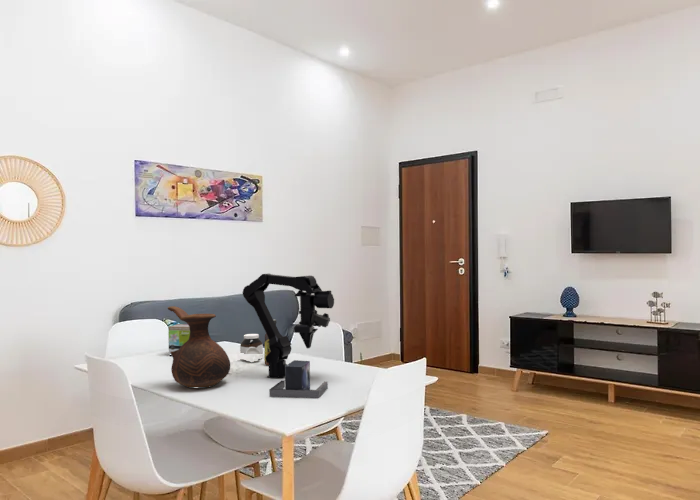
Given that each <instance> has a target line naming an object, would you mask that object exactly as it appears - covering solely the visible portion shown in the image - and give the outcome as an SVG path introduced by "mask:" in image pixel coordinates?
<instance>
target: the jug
mask: <svg viewBox="0 0 700 500" xmlns="http://www.w3.org/2000/svg"><path fill="white" fill-rule="evenodd" d="M167 310H168V311H169V312H173V313H174V314H175V315H176V317H178V319H179V320H180V321H182V322H184V323H185V324H188V325H189V328H190V336H189V339H188V341H187V342H185V343H184V344H183V345H182V346H181V347H180V349H178V350H176V351H173V352H172V351H171V352H170V353H171V354H172V356H171V357H172V363H171V368H170V369H171V376H172V377H173V380H174V382H175V383H178V384H180V385H183V386H185V387H186V386H187V387H186V388H188V387H207V388H210V387H209V386H212V387H214V386H216V385H218V384H219V383H220V382H221V381H222V380H224V379H225V378H226V377H227V376H228V375H229V373H230V370H231V361H230V358H229V356H228V354H227V352H226V351H225V349H224V348H223V347H222V346H221V345H220V344H218V342H216V341H215V340H213V339H212V338H211V336H210V331H209V325H210V321H211V320H212V319H214V318H216V314H214V313H194V314H192V313H191V314H188V313H187V312H186V311H185V310H184V309H182V308H180V307H178V306H175V305H174V306H168V307H167ZM213 385H214V386H213Z"/></svg>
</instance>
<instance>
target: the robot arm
mask: <svg viewBox="0 0 700 500" xmlns="http://www.w3.org/2000/svg"><path fill="white" fill-rule="evenodd" d="M270 285H277V286H283V287H291V288H294V289H295V290H298V291H297V292H296V293H294V296H295V297H299V302H300V304H299V305H300V308H299V309H300V310H299V311H298V314H299V315H300V321H299V323H298V324H296V325H295V326H294V327H293V333H295V334H296V333H297V334H299V335H300V336H299V337H301V339H302V342H303V343H304V345H305V347H306V349H310V348H311V347H312V343H313V340H314V339H313V338H314V335H315V333H316V332H317V331H318V330H319V329H318V328H320V327H323V328H327V327H329V324H330V322H331V317H330V316H329V313H326V312H325V313H323V314H319V313H318V310H317V309H333V307H334V304H335V298H334V295H333V294H332V290H322V288H321V286H320V285H319V284H318V283H317V279H316V278H315V276H314V275H301V276H290V275H281V274H273V273H272V274H271V273H261V274H260V276H259V277H257V278H256V279H255V280H253V281H252V282H251V283H249V285H248V284H247V285H246V286H244V288H243V289H242V296H243V298H244V300H245V301H246V302H247V303H248V304H249V305H250V306H251V307H253V310H254V311H255V313H256V315H257V317H258V319H259V321H260V323H261V325H262V327H263V330H264V331H265V334H267V336H268V338H269V348H270V351H271V352H270V353H269V354H268V355H267V356H266V357H265V359H266V362H267V363H269V365H268V375H267V378H270V379H271V378H273V379H275V378H276V379H283V378H285V366H286V365H288V364H287V363H286V362H287V359H288V357H289V356H290V354H291V352H292V343H291V342H290V340H289V337H288V336H287V335H282V334H281V333H280V331H279V329H278V327H277V324H276V325H275V323H274V320H273V319H274V318H273V316H272V314H271V313H270V312H271V311H269V309H268V307H267V305H266V295H265V291H266V290H267V289H268V287H269V286H270ZM315 327H318V328H315Z"/></svg>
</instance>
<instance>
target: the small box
mask: <svg viewBox="0 0 700 500" xmlns="http://www.w3.org/2000/svg"><path fill="white" fill-rule="evenodd" d="M284 381H285V388H284V389H304V390H311V361H310V360H299V359H298V360H295V359H294V360H292V361H291V362H289V363H288V364H287V365H286V366H285V377H284Z"/></svg>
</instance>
